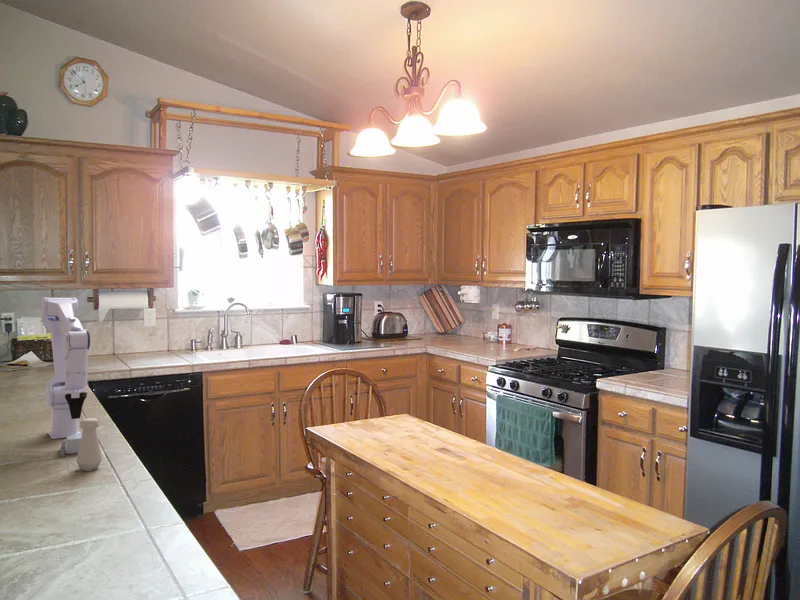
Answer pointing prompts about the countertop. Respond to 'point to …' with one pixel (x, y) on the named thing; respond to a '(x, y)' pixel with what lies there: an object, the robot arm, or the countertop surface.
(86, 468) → the salt shaker
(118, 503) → the countertop surface
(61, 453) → the grey flat bars
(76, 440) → the block
